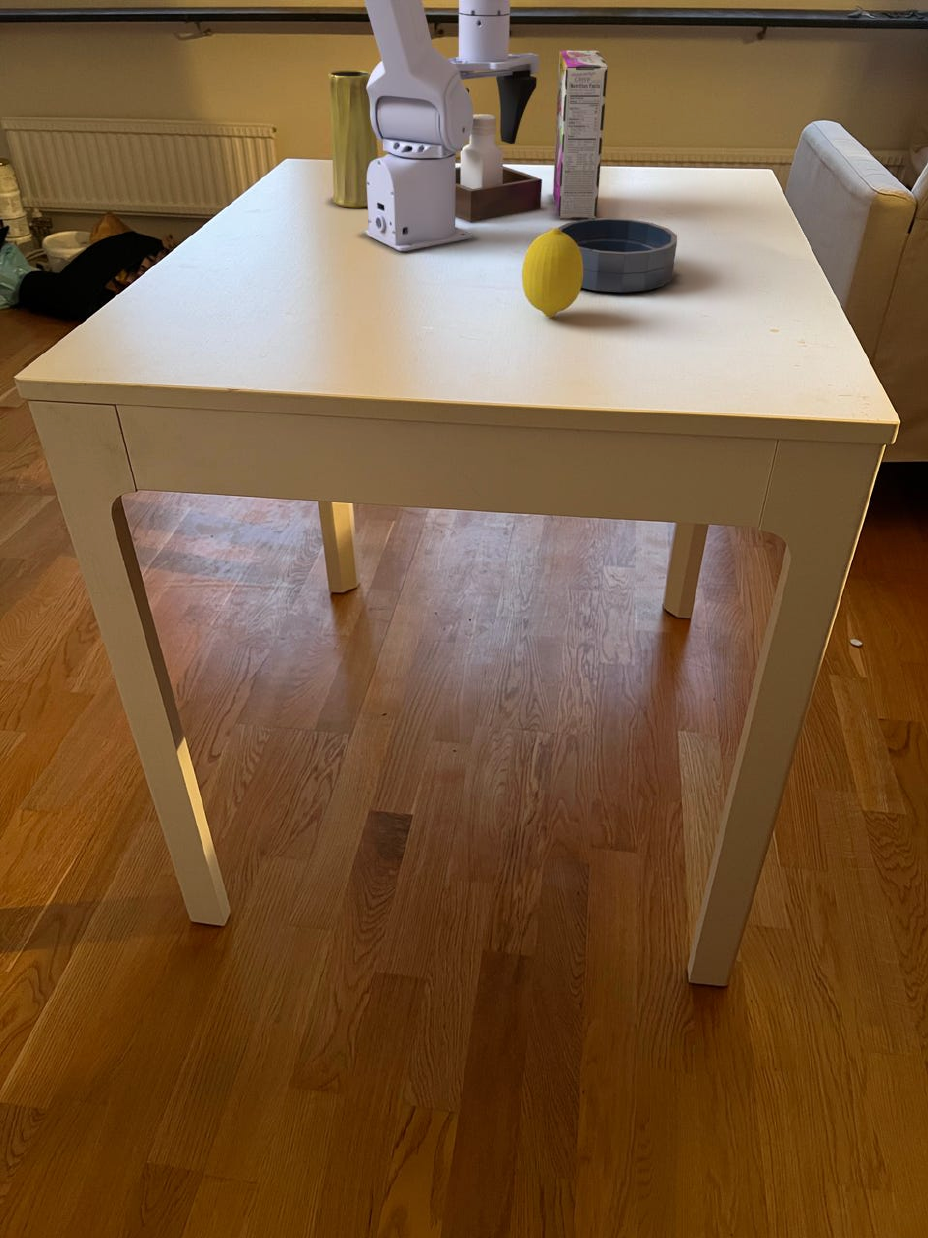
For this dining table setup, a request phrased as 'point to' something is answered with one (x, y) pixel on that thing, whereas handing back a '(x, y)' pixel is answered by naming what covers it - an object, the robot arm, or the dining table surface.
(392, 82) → the robot arm
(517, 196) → the box
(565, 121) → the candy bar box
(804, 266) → the dining table surface
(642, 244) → the bowl
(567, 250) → the lemon
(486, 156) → the white bottle
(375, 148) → the vase
